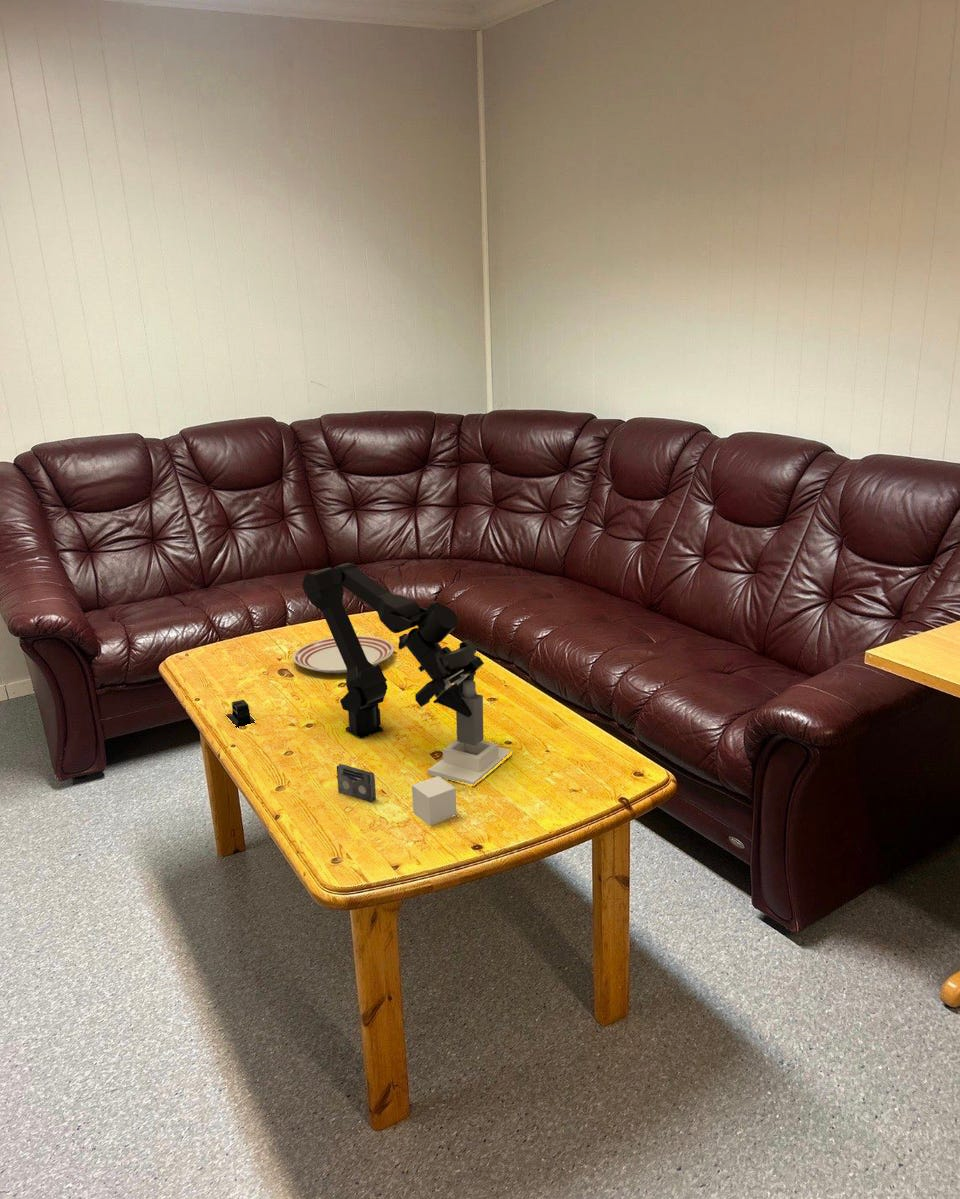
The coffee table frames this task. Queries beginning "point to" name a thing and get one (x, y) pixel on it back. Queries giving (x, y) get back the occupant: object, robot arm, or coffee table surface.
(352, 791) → the mini dv tape
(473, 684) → the plug
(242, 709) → the black boxy piece
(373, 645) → the dinner plate
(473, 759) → the socket board
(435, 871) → the coffee table surface
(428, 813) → the gray cube
